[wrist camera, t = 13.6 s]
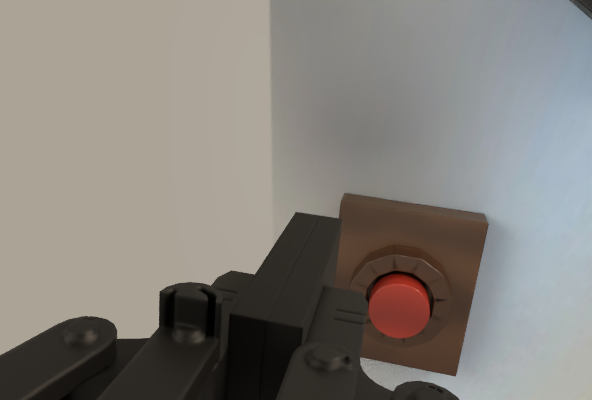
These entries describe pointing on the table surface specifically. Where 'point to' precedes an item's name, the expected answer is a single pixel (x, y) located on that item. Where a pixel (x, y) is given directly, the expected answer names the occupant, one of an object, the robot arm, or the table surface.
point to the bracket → (584, 6)
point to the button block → (413, 272)
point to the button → (399, 306)
